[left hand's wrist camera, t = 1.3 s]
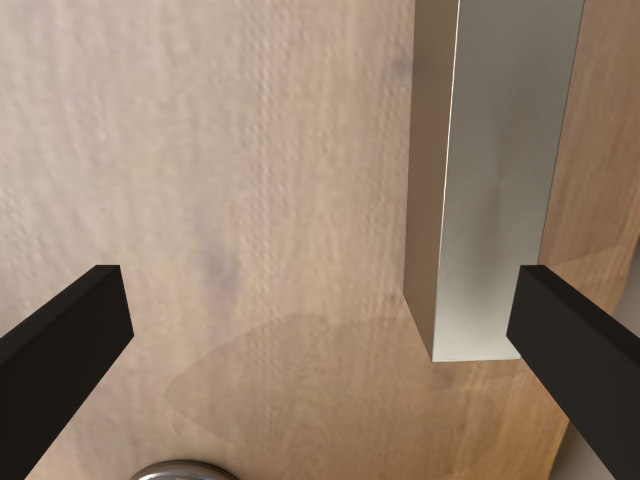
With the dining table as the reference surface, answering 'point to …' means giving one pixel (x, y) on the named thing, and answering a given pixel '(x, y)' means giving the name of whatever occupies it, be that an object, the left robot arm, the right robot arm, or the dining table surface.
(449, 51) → the box
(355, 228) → the dining table surface
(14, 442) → the left robot arm
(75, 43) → the dining table surface
